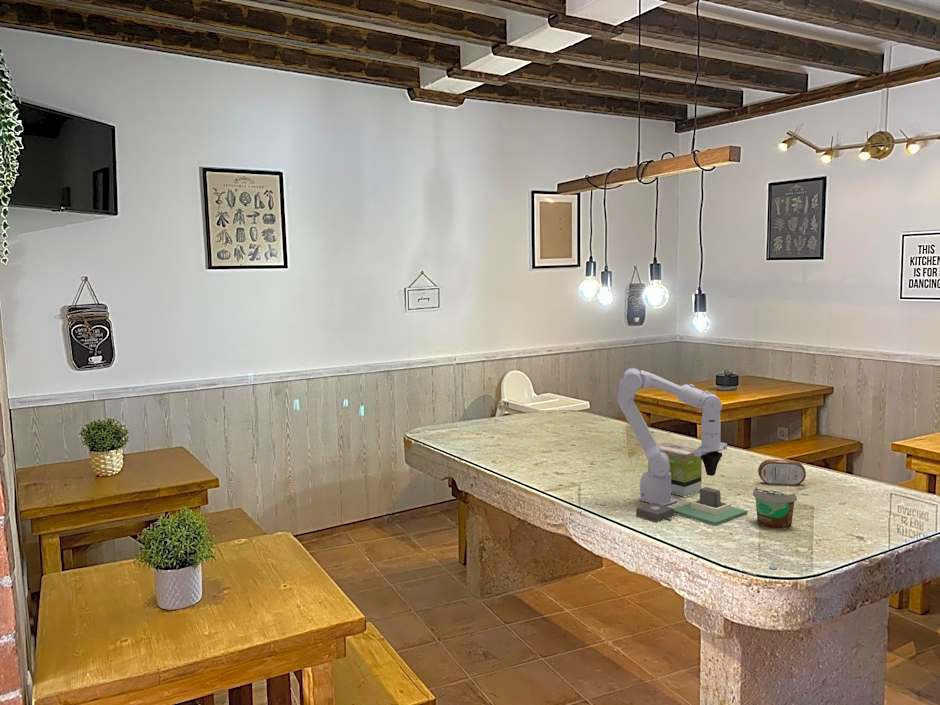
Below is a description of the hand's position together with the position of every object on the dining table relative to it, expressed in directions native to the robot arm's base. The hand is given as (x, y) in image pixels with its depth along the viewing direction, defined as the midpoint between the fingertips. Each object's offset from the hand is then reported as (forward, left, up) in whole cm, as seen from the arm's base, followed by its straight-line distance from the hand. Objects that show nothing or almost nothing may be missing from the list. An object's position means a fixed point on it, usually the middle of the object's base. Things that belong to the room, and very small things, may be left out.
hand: (710, 475), depth 232 cm
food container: (+23, -4, -10) cm, 25 cm away
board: (+5, -8, -9) cm, 13 cm away
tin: (+3, +36, -10) cm, 37 cm away
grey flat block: (-3, -22, -9) cm, 24 cm away
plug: (+5, -7, -8) cm, 12 cm away
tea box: (-17, +4, -10) cm, 20 cm away
